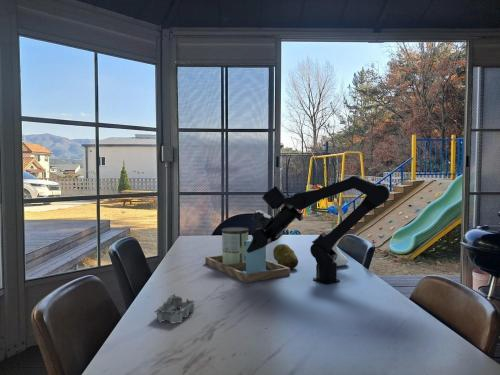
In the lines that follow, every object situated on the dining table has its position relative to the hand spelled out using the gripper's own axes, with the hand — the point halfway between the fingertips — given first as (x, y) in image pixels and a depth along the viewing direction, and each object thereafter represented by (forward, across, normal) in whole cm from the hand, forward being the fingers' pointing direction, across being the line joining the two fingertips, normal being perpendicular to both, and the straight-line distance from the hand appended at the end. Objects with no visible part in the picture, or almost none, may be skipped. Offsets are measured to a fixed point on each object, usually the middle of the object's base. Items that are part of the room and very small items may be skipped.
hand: (252, 249), depth 139 cm
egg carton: (+9, +45, +4) cm, 46 cm away
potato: (0, -14, +12) cm, 18 cm away
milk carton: (+5, 0, +7) cm, 9 cm away
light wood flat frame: (+9, -4, +3) cm, 11 cm away
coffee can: (+14, -9, -1) cm, 16 cm away
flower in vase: (-11, -24, +24) cm, 35 cm away
